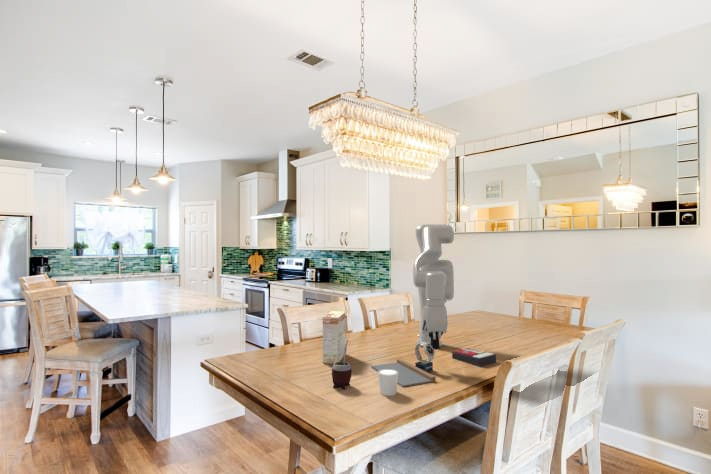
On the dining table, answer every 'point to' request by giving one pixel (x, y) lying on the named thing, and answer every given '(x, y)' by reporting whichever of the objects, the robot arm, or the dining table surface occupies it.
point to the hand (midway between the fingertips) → (435, 348)
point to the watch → (429, 352)
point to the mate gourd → (341, 373)
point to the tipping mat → (407, 373)
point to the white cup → (388, 381)
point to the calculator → (474, 357)
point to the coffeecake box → (333, 336)
